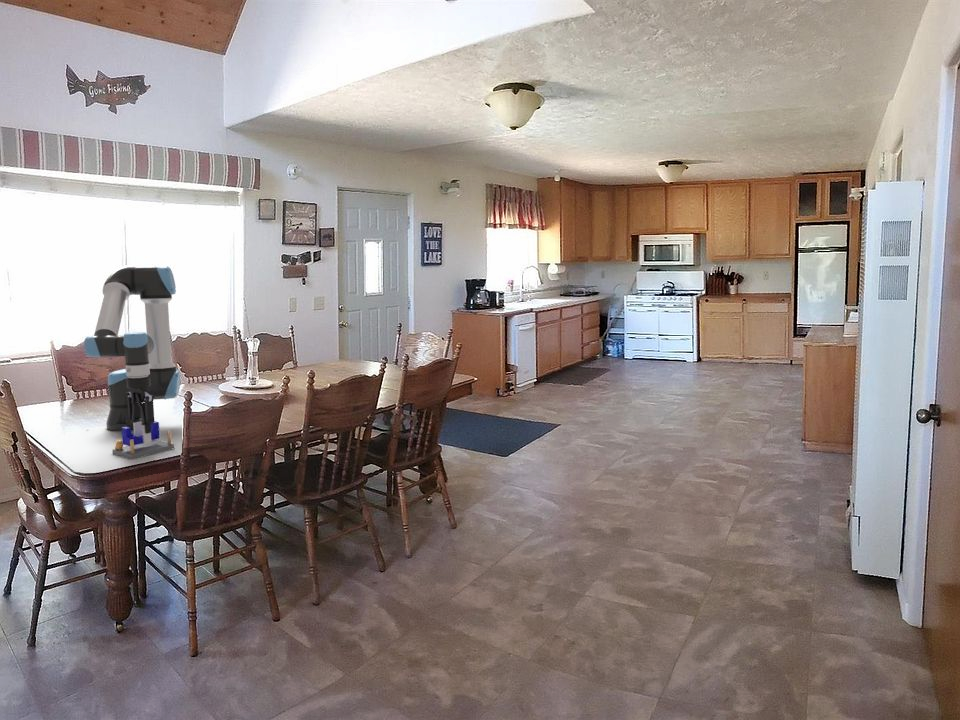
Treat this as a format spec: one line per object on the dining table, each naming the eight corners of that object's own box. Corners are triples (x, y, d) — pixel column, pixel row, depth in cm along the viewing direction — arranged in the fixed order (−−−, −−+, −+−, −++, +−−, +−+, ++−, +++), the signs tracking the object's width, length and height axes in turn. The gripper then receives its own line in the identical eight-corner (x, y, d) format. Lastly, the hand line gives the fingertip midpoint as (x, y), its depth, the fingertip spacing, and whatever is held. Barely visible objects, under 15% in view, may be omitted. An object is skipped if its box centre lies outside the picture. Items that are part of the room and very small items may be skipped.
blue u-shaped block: (129, 446, 247) (128, 429, 246) (122, 444, 250) (121, 427, 249) (162, 438, 257) (161, 422, 256) (155, 437, 260) (154, 421, 259)
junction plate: (112, 453, 251) (111, 435, 250) (154, 443, 264) (153, 426, 263) (132, 459, 244) (130, 440, 243) (174, 448, 258) (173, 430, 257)
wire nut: (113, 447, 251) (114, 440, 250) (120, 447, 253) (121, 439, 252) (117, 449, 249) (118, 442, 249) (123, 449, 251) (125, 441, 251)
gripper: (113, 375, 252) (118, 439, 255) (142, 380, 242) (147, 446, 246) (134, 372, 258) (138, 435, 261) (162, 377, 248) (167, 442, 252)
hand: (142, 440), depth 253 cm, fingers closed on blue u-shaped block, 5 cm apart
